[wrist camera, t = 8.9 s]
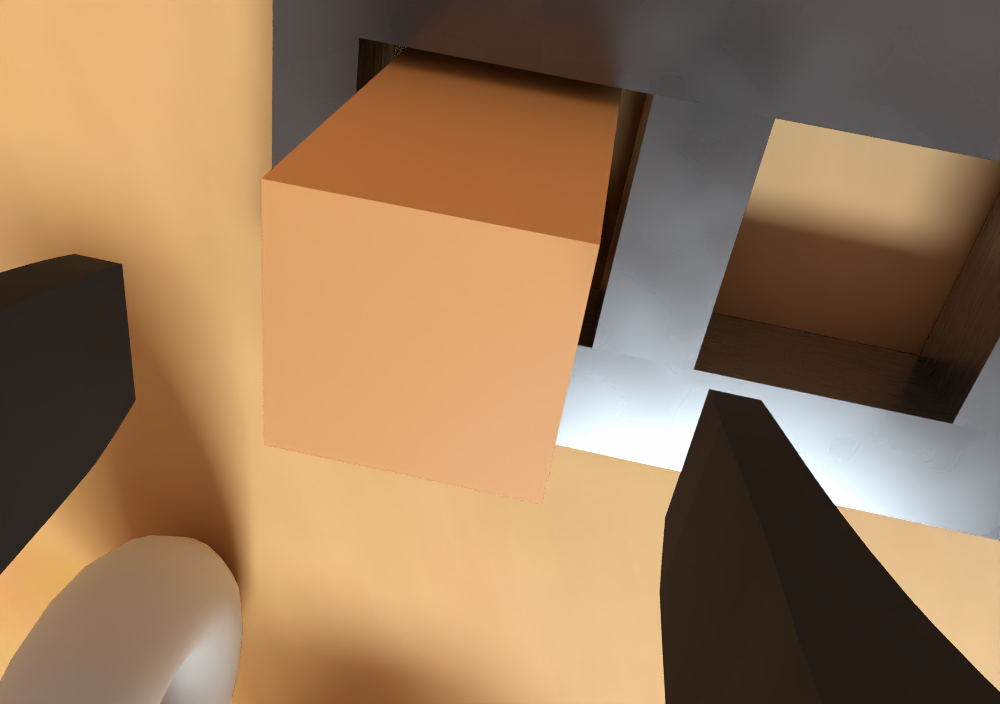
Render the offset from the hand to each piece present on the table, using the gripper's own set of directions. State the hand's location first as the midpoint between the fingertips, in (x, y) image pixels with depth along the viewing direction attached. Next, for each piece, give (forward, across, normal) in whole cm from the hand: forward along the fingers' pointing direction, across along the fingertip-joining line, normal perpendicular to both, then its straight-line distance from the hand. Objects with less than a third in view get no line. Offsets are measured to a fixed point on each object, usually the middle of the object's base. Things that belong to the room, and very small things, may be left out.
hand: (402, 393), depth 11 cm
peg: (+9, 0, 0) cm, 9 cm away
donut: (+9, +7, +15) cm, 19 cm away
